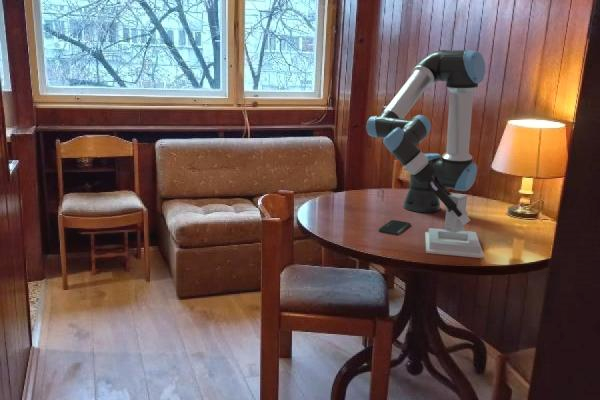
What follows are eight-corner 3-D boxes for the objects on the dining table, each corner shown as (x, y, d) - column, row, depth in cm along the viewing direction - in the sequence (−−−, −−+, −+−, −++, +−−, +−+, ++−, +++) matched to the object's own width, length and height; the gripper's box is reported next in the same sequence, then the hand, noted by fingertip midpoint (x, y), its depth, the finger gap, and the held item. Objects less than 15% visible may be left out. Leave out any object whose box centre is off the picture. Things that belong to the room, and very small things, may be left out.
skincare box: (455, 233, 176) (459, 198, 173) (443, 230, 179) (446, 195, 176) (464, 229, 180) (468, 195, 177) (452, 226, 183) (456, 192, 180)
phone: (411, 223, 203) (398, 233, 190) (411, 226, 203) (397, 236, 190) (392, 219, 207) (377, 229, 194) (391, 222, 207) (377, 232, 194)
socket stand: (425, 234, 193) (425, 226, 192) (477, 238, 189) (478, 230, 188) (426, 252, 174) (426, 244, 173) (483, 258, 170) (484, 249, 169)
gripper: (412, 169, 188) (454, 217, 189) (411, 181, 169) (459, 235, 170) (428, 155, 185) (472, 204, 186) (430, 166, 166) (478, 220, 167)
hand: (465, 219), depth 178 cm, fingers closed on skincare box, 7 cm apart
